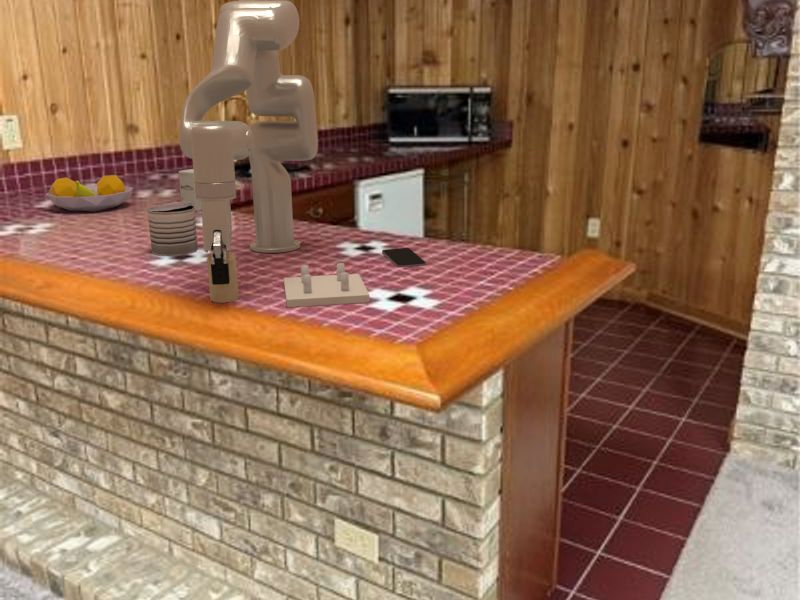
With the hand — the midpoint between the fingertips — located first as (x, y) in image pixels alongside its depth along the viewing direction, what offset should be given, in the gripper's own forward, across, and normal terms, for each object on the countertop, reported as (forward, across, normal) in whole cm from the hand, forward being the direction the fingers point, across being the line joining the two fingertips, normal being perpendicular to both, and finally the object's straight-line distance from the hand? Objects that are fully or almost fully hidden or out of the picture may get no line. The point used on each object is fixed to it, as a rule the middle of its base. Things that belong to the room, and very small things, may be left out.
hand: (222, 277), depth 146 cm
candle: (+5, 0, 0) cm, 5 cm away
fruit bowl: (+3, -114, -48) cm, 124 cm away
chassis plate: (+4, 0, +20) cm, 21 cm away
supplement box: (+3, -106, -13) cm, 107 cm away
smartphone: (+5, -26, +41) cm, 49 cm away
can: (+4, -45, -14) cm, 48 cm away
